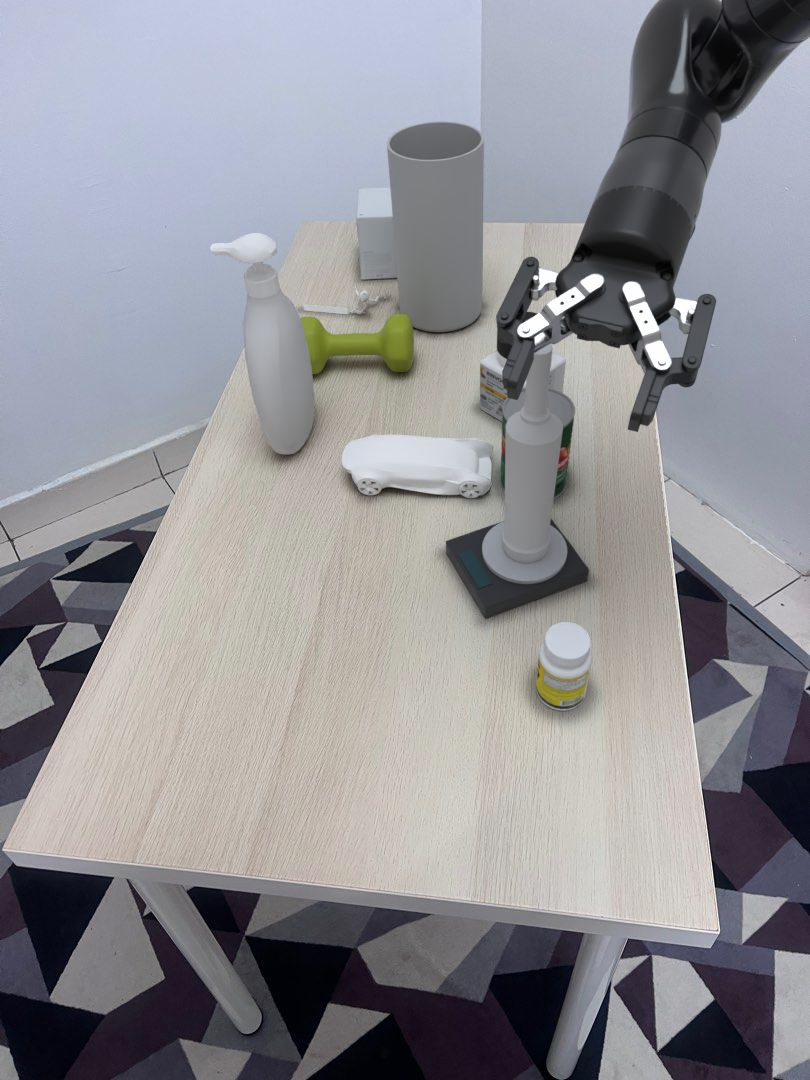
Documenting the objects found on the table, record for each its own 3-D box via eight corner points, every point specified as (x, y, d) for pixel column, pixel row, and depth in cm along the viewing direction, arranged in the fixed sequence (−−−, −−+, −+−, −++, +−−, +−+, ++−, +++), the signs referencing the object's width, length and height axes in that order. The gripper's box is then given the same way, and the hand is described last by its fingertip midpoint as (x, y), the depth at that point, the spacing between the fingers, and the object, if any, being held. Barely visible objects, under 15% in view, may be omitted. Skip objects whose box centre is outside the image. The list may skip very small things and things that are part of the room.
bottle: (492, 554, 84) (498, 355, 66) (514, 522, 87) (525, 324, 69) (537, 571, 82) (555, 372, 64) (557, 539, 85) (581, 339, 67)
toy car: (492, 454, 99) (493, 426, 95) (491, 499, 93) (491, 471, 90) (350, 452, 101) (345, 424, 97) (340, 495, 95) (335, 467, 92)
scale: (542, 519, 91) (543, 503, 89) (587, 581, 84) (590, 565, 82) (445, 552, 88) (445, 537, 86) (485, 619, 82) (485, 603, 80)
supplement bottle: (547, 661, 78) (554, 609, 72) (593, 681, 76) (604, 630, 70) (526, 699, 75) (531, 648, 69) (573, 720, 74) (582, 670, 67)
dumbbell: (416, 348, 115) (413, 304, 110) (413, 382, 110) (410, 337, 104) (304, 350, 116) (296, 307, 111) (296, 384, 111) (287, 340, 106)
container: (478, 409, 105) (478, 323, 95) (518, 382, 108) (522, 297, 98) (522, 435, 101) (527, 348, 91) (562, 407, 104) (571, 320, 94)
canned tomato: (568, 505, 92) (578, 431, 84) (500, 504, 93) (502, 432, 85) (564, 458, 97) (572, 385, 89) (499, 459, 98) (501, 386, 90)
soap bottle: (272, 396, 109) (228, 204, 90) (330, 398, 108) (297, 204, 88) (244, 468, 100) (186, 270, 80) (306, 471, 99) (264, 271, 79)
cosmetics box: (401, 278, 128) (396, 215, 121) (361, 281, 129) (354, 218, 121) (400, 246, 135) (396, 184, 128) (362, 249, 136) (356, 187, 128)
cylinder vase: (421, 283, 127) (412, 117, 108) (494, 298, 123) (498, 127, 104) (386, 325, 120) (370, 153, 101) (462, 341, 115) (460, 166, 97)
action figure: (313, 300, 127) (297, 316, 122) (313, 266, 124) (297, 281, 118) (385, 311, 126) (372, 328, 120) (387, 278, 122) (374, 294, 117)
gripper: (546, 165, 57) (468, 354, 52) (753, 201, 53) (686, 408, 49) (546, 238, 64) (477, 410, 59) (729, 275, 60) (669, 461, 56)
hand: (571, 409), depth 54 cm, fingers open, 8 cm apart
